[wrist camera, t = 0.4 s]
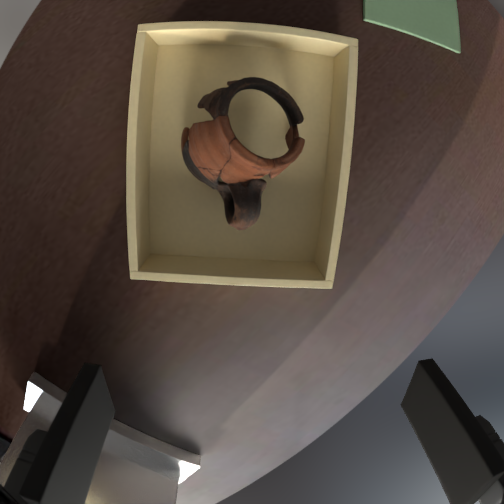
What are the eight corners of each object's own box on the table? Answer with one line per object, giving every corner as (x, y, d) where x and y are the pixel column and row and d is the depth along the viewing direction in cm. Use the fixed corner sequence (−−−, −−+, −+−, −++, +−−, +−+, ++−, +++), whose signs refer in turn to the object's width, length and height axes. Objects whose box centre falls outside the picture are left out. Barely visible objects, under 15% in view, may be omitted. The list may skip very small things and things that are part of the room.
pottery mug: (168, 107, 26) (197, 62, 19) (259, 108, 31) (308, 75, 23) (183, 238, 27) (219, 234, 20) (276, 224, 32) (333, 218, 24)
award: (28, 401, 38) (-37, 529, 12) (34, 371, 36) (-50, 517, 10) (177, 475, 44) (165, 613, 18) (200, 455, 42) (192, 614, 16)
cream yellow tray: (152, 39, 24) (138, 23, 19) (341, 52, 25) (358, 38, 21) (143, 259, 31) (130, 279, 27) (319, 268, 32) (332, 289, 28)
